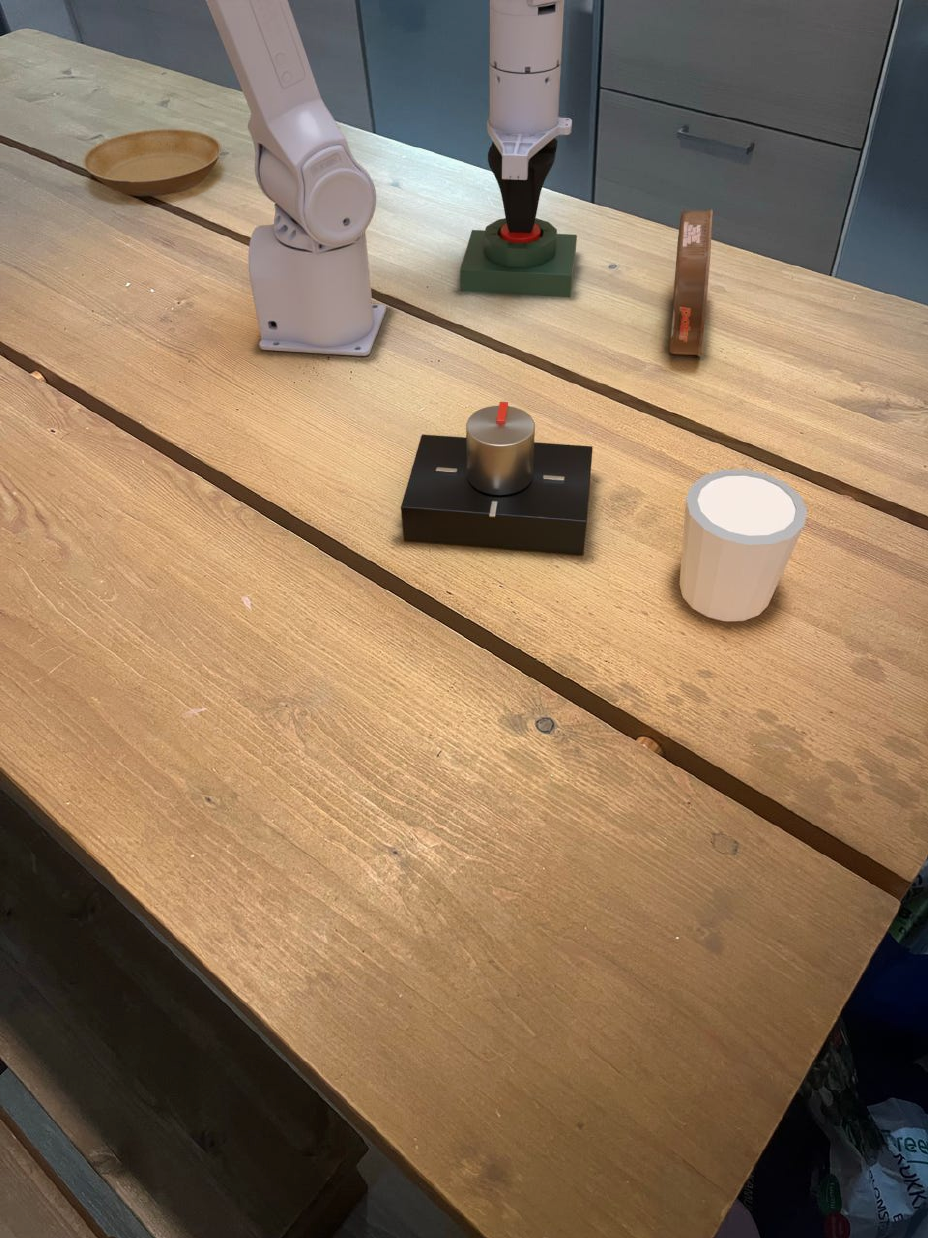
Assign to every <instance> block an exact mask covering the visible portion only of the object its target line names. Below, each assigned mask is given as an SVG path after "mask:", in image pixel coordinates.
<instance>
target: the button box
mask: <svg viewBox="0 0 928 1238" xmlns="http://www.w3.org/2000/svg"><path fill="white" fill-rule="evenodd" d="M505 224H507V222H506V218H505V217H503V218H499V219H497V220H495V221H493V222H491V223H490V224H488V225H487V226H485V229H484V230H482V229H481V230H480V229H472V230H471V231H470V235H469V238H468V242H467V245H466V247H465V248H466V249H465V252H464V255H463V260H462V262H461V266H460V269H459V277H460V279H459V280H460V281H459V282H460V284H459V287H460V292H463V293H464V292H465V293H482V294H483V293H484V294H501V295H520V296H521V295H522V296H541V297H557V298H559V297H560V298H571V295H572V287H573V279H574V271H575V263H576V256H577V255H576V254H577V240H578V235H577V234H572V233H570V234H568V233H558V229H557V228H556V227H555V226H554V225H552V223H550V222H549V221H546V220H543V219H541V218H540V219H539V218H537V217H536V218H535V223H534V224H536V225H538V226H539V228H540V238H539V239H538V240H536V241H532V242H527V243H513V242H509V241H506V240H503V239H501V228H502V226H503V225H505Z"/></svg>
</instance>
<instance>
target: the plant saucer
mask: <svg viewBox="0 0 928 1238" xmlns="http://www.w3.org/2000/svg"><path fill="white" fill-rule="evenodd" d="M221 153H222V145H221V143H220V142H219V140H217V139H216V138H215V137H213V136H212V135H209V134H206V133H204V132H201V131H194V130H189V129H181V128H180V129H178V128H161V129H148V130H141V131H140V130H139V131H134V132H130V133H126V134H122V135H118V136H114V137H112V138H109V139H106V140H104V141H102V142H100V143H98V144H97V145H95V146H93V147H92V148H91V149H90V150H89V151H87V152H86V153H85V155H84V157H83V160H82V163H83V164H82V165H83V167H84V169H85V170H86V171H87V172H88V173H90V175H92V176H93V178H95V179H96V180H98V181H99V182H100V183H102V184H103V185H104V186H107V187H108V188H109V189H111V190H113V191H115V192H117V193H119V194H123V195H126V196H127V195H128V196H132V197H133V196H134V197H160V196H168V195H173V194H177V193H180V192H184V191H187V190H189V189H191V188H193V187H196V186H197V185H199V184H200V183H201V182H203V181H204V180H205V179H206V178H207V177H208V175H209V174H210V173H211V172H212V170H213V169H214V167H215V165H216V164H217V162H218V161H219V158H220V155H221Z"/></svg>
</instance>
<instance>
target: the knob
mask: <svg viewBox="0 0 928 1238" xmlns="http://www.w3.org/2000/svg"><path fill="white" fill-rule="evenodd" d="M498 403H499V404H498V405H491V406H487V407H483V408H480V409H478V410H477V411H475V412H473V413H472V414H471V415H469V417H468V419H467V420H466V424H465V437H466V452H467V478H468V480H469V482H470V484H471V485H472V486H473V487H474V488H476V489H477V490H479V491H481V492H484V493H487V494H491V495H509V494H513V493H516V492H519V491H521V490H523V489H524V488H526V487H527V486H528V485H529V483H530V482H531V480H532V477H533V460H534V442H535V439H536V438H535V435H536V424H535V420H534V418H533V417H532V416H531V415H530V413H528V412H526V411H525V410H523V409H520V408H518V407H515V406H510V405H509V401H499V402H498Z"/></svg>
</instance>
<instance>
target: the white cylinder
mask: <svg viewBox="0 0 928 1238" xmlns="http://www.w3.org/2000/svg"><path fill="white" fill-rule="evenodd" d="M807 515H808V509H807V507H806V504H805V502H804V500H803V497H802V495H800V494H799V492H798V491H796V490H795V489H794V488H793V487H792V486H791V485H790V484H789V483H787V482H786V481H784V480H782V479H779V478H777V477H775V476H774V475H770V474H768V473H767V472H761V471H757V470H751V469H747V468H735V469H734V468H732V469H730V468H729V469H720V470H716V471H714V472H710V473H708V474H704V475H702V476H701V477H700V478H699V479H698V480H696V481H695V482H694V483H692V484H691V485H690V486H689V490H688V492H687V495H686V499H685V508H684V521H683V535H682V544H681V545H682V546H681V547H682V548H681V560H680V572H679V588H680V592H681V595H682V599H684V600H685V601H686V603H687V604H688V605H689V606H690V608H691V609H693V610H695V611H696V612H698V613H699V614H702V615H703V616H705V617H707V618H709V619H714V620H718V621H722V622H744V621H747V620H750V619H752V618H755V617H758V616H759V615H761V614H762V613H763V612H764V610H765V609H766V608H768V606H769V604H770V602H771V601H772V600H771V599H772V597H773V595H774V593H775V592H776V589H777V587H778V585H779V582H780V580H781V578H782V575H783V573H784V571H785V569H786V567H787V565H788V563H789V561H790V558H791V556H792V555H793V551H794V549H795V547H796V545H797V543H798V541H799V538H800V536H801V534H802V532H803V530H804V528H805V525H806V519H807Z"/></svg>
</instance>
